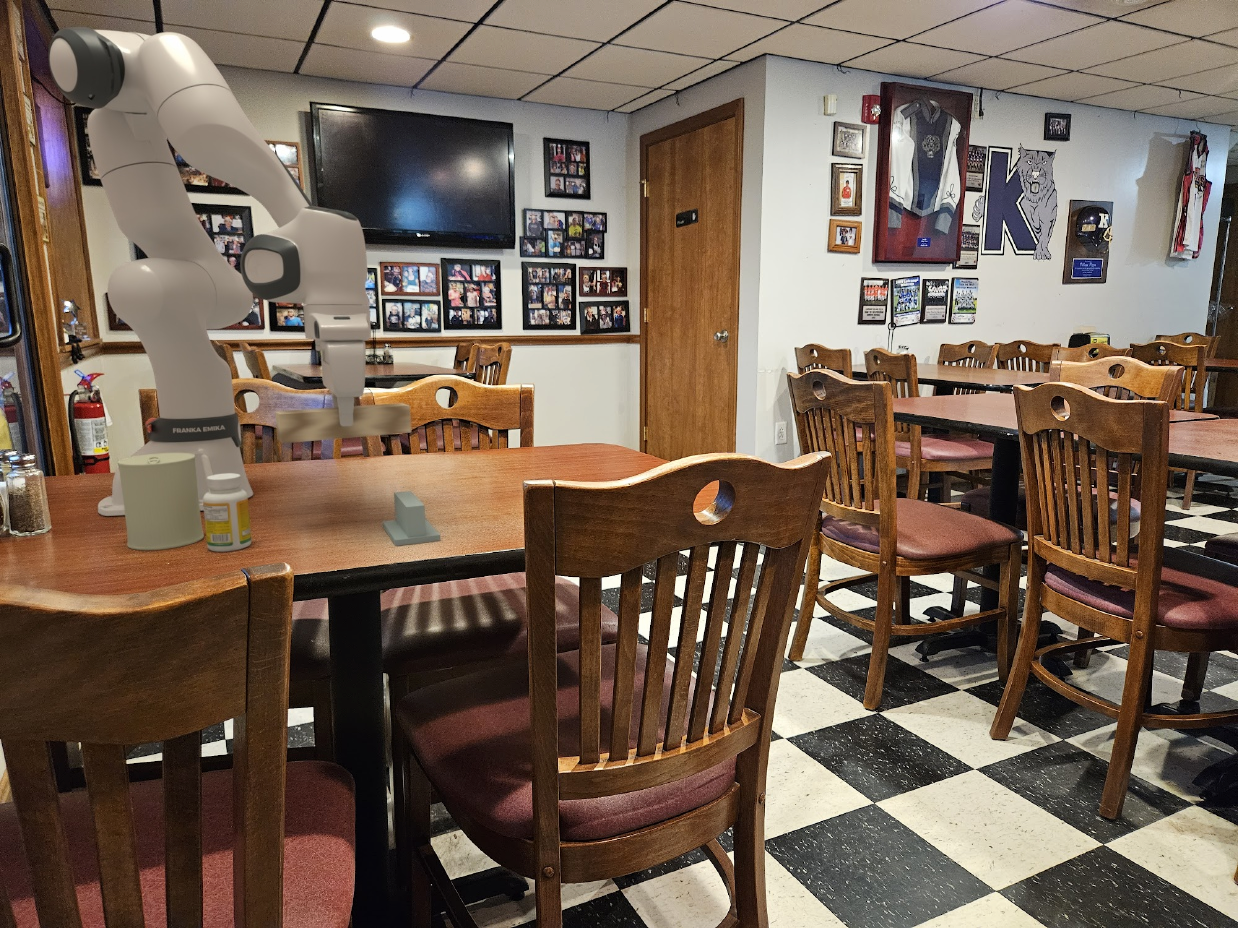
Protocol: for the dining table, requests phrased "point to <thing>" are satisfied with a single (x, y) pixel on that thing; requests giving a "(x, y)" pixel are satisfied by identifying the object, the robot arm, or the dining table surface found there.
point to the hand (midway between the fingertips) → (344, 423)
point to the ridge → (409, 521)
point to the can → (160, 500)
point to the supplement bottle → (226, 513)
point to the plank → (328, 427)
